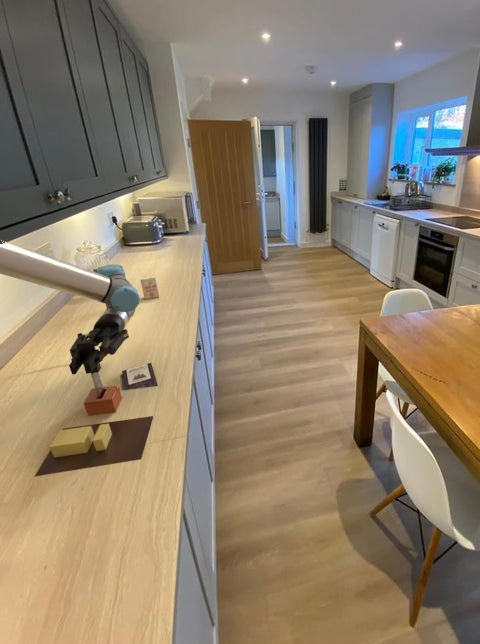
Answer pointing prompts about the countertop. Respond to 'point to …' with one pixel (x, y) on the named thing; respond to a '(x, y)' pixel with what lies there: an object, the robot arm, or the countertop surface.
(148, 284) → the tea bag
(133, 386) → the chocolate bar
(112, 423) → the board
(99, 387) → the knife
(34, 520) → the countertop surface
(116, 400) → the knife stand
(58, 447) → the butter
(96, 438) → the butter slice
